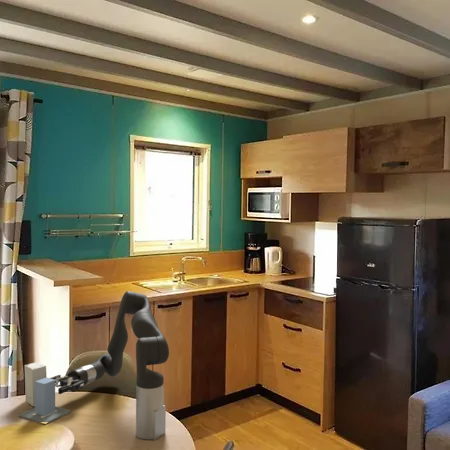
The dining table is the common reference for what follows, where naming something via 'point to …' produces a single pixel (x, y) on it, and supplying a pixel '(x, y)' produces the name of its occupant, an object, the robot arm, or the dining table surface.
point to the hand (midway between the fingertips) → (50, 389)
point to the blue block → (44, 396)
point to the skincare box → (33, 379)
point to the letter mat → (48, 418)
